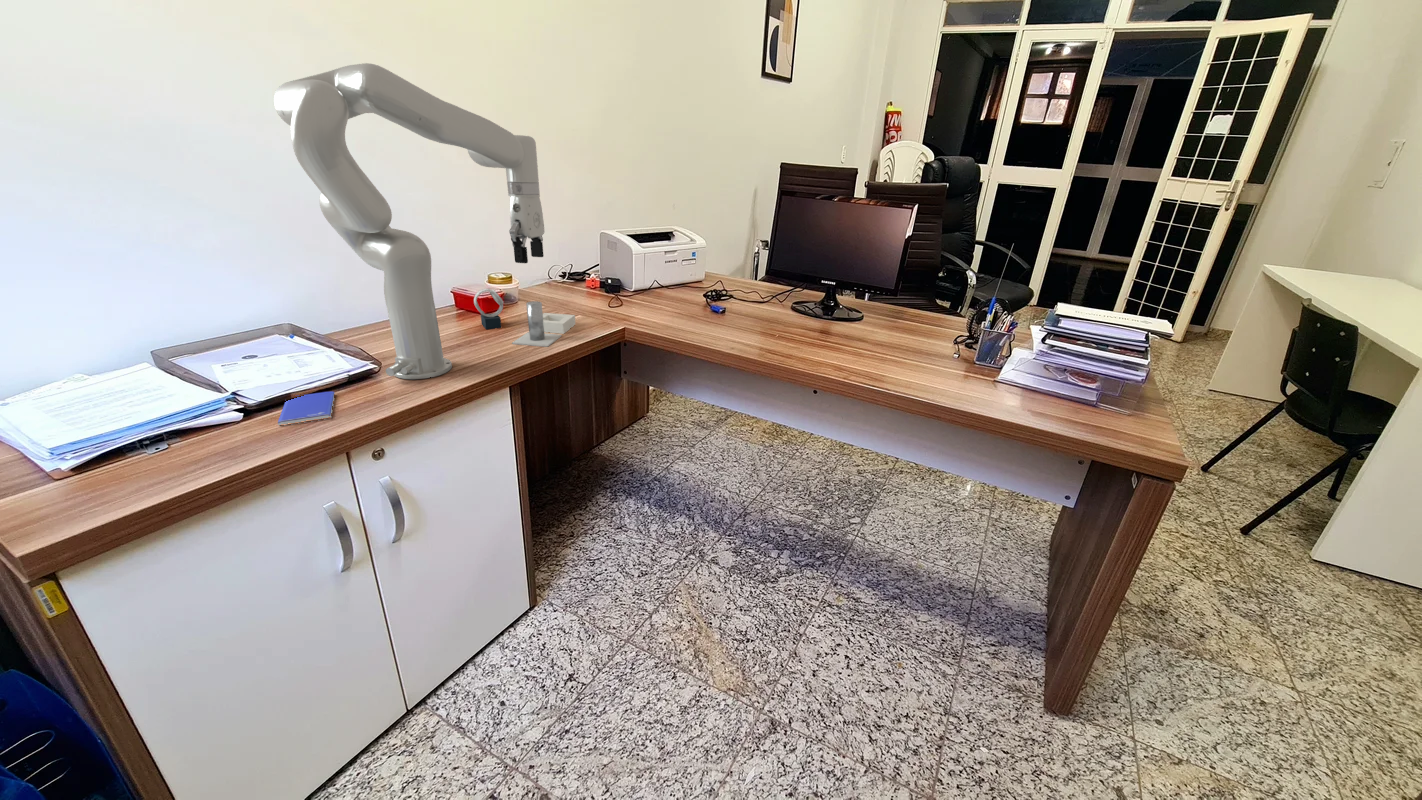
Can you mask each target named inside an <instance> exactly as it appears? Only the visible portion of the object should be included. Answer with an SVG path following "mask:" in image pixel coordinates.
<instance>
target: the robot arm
mask: <svg viewBox="0 0 1422 800" xmlns="http://www.w3.org/2000/svg"><path fill="white" fill-rule="evenodd" d="M273 95H274V96H273V105H274V109H275V110H276V113H277V115H278V116H279V117H280V119H282V121H284V123H286V124H287V125H288V126H290V135H291V144H292V149H293V152H294V155H295V158H296V160H297V161H298V163H299V165H300V166H301V168H302V170H304V172H305V173H306V175H307V176H308V177H309V178H310V180H311V182H313V183H314V185H315V187H317V189H318V190H319V191H320V194H319V207H320V210H321V212H322V215H323V216H324V218H325V219H326V221H327V222H328V224H329V225H331V227H332V228H333V229H334V230H335V232H336V233H338V235H339V236H340V237H341V239H343V240H344V241H345V243H346V244H347V245H348V246H349V247H350V248H351V250H353V252H354V253H355V255H357V256H358V257H359V258H360V259H361V260H362V261H364V262H365V263H366V264H367V265H369V266H370V267H372V268H375V269H377V270H380V271H382V272H383V273H384V275H383V295H384V300H385V301H384V302H385V306H386V310H387V314H388V318H389V319H388V320H389V325H390V329H391V333H392V339H393V343H394V349H395V355H396V356H395V357H394V360H395V362H394V363H393V365H391V366H389V367H387V368H386V369H385V373H386V375H388V377H393V376H394V377H396V378H398V379H404V380H423V379H430V377H431V378H435V377H439V376H441V375H443V374H446V373H448V372H449V371H450V370H452V368H453V364H452V361H451V360H450V359H448V358H446V357H444V352H443V346H442V341H441V335H440V334H441V333H440V329H439V321H438V317H437V311H436V305H435V299H434V293H433V286H432V285H433V284H432V258H431V257H432V256H431V252H430V249H429V247H428V245H427V244H426V243H425V241H424V240H422V238H420V236H418V235H416V234H414V233H413V232H409V231H406V230H401V229H398V228H392V227H391V226H390V224H391V221H392V218H393V214H392V213H393V212H392V209H391V206H390V205H389V203H388V201H387V199H386V198H385V197H384V196H383V194H382V193H381V192H380V190H378V189H377V187H376V186H375V184H374V183H373V182H372V181H371V180H370V179H369V177H368V176H367V174H366V173H365V172H364V171H363V170H362V168H361V167H360V166H359V164H358V163H357V162H356V159H354V157H353V156H352V154H351V152H350V150H349V148H348V145H347V142H346V128H347V124H348V120H351V119H352V118H356V117H358V116H361V115H363V114H375V115H378V116H379V117H381V118H384V119H385V120H387V121H390V122H392V123H394V124H396V125H398V126H400V127H402V128H405V129H406V130H409V131H411V132H413V133H414V134H417V135H418V136H420V137H422V138H425V139H428V140H430V141H433V142H436V143H439V144H442V145H443V144H444V145H448V146H449V145H450V146H455V147H458V148H459V147H460V148H461V149H462V148H463V149H466V151H467V154H468V155H469V158H471V160H472V161H473V162H474V163H476V164H478V165H479V166H481V167H485V168H494V169H496V168H498V169H505V173H506V185H507V193H508V194H507V195H508V197H509V220H510V228H509V231H508V232H509V235H510V240H511V242H512V247H513V253H514V254H513V256H514V262H515V263H517V264H528V262H529V259H528V249H527V248H528V247H527V246H526V243H527V238H528V239H529V240H530V241H529V243H530V244H529V245H530V255H531V257H533V258H544V246H543V245H544V244H543V242H544V241H543V240H544V237H543V235H544V234H545V224H544V213H543V208H542V202H541V198H540V197H541V195H540V182H539V169H538V167H539V166H538V156H537V145H536V144H537V143H536V140H535V138H533V136H530V135H521V134H514V133H512V132H511V131H509V130H508V129H505V128H504V127H502V126H500V124H497V123H495V122H493V121H491V120H489V119H487V118H485V117H483V116H481V115H478V114H477V113H474V112H471V111H468V110H467V109H464V108H461V107H460V106H458V105H456V104H452V103H450V102H447V101H445V100H443V99H440V98H439V97H437V96H435V95H433V94H431V93H430V92H428V91H426V90H424V89H422V88H420V87H419V86H417V85H415V84H413V83H412V82H410V81H408V80H406V79H404V78H403V77H401V76H399V75H398V74H396V73H393V72H392V71H390V70H389V69H386V68H385V67H383V66H381V65H379V64H378V65H377V64H374V63H367V62H364V63H357V64H348V65H344V66H342V67H338V68H336V69H331V70H328V71H325V72H322V73H317V74H314V75H309V76H305V77H301V78H298V79H295V80H294V79H293V80H290V81H287V82H284V83H282V84H281V85H279V86H278V88H276V90H275V92H274V94H273Z"/></svg>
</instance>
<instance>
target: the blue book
mask: <svg viewBox="0 0 1422 800" xmlns="http://www.w3.org/2000/svg"><path fill="white" fill-rule="evenodd" d="M334 394H335V395H336V393H335V391H322V392H315V393H308V394H303V395H304V396H301V397H297V398H294V399H291V400H288V401H286V400H285V401H286V402H284V404H283V407H282V410H281V413H280V416H279V418H278V420H277V425H281V424H288V423H295V422H301V421H306V420H314V419H321V418H322V419H323V418H328V417H331V418H332V416H331V413H332V414H333V410H332V406H333V407H334V404H333V401H334V402H335V398H334Z"/></svg>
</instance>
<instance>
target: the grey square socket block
mask: <svg viewBox="0 0 1422 800" xmlns="http://www.w3.org/2000/svg"><path fill="white" fill-rule="evenodd" d="M543 323H544V333H548V332H550V333H549V334H559V335H562V334H563V335H564V334H566V332H568V331H570V330H571V329H572V328H573V327H575V326H576V325H575V324H576V315H575V314H567V313H566V314H565V313H554V312H553V313H552V312H551V313H550V312H543ZM574 325H575V326H574ZM571 327H572V328H571ZM570 328H571V329H570Z"/></svg>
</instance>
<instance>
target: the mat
mask: <svg viewBox="0 0 1422 800" xmlns="http://www.w3.org/2000/svg"><path fill="white" fill-rule="evenodd" d="M544 334H545V339H544V340H540V341H533V340H530V335H529V331H528V332H526V333H524V334H523V335H522V336H519V337H518V338H517V339H515V340H513V341H512V343H511V344H512V345H518V346H519V345H520V346H533V347H545V348H548V347H550V346H551V345H552V344H553V343H554V342H556V341H557V340H559V339H560V338H561V337H562V334H560V333H547V332H544Z"/></svg>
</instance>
